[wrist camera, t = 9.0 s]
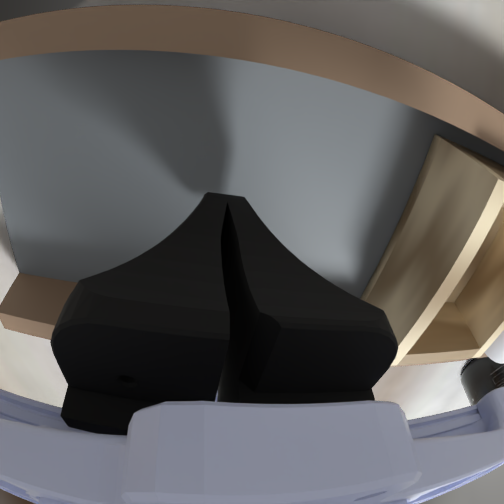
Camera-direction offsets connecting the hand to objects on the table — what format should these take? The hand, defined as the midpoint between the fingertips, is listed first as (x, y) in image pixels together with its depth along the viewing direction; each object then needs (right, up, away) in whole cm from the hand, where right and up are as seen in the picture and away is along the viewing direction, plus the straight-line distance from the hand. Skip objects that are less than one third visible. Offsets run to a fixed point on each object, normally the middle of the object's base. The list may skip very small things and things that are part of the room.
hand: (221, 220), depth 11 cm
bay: (+4, +1, +2) cm, 5 cm away
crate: (+11, 0, +3) cm, 11 cm away
